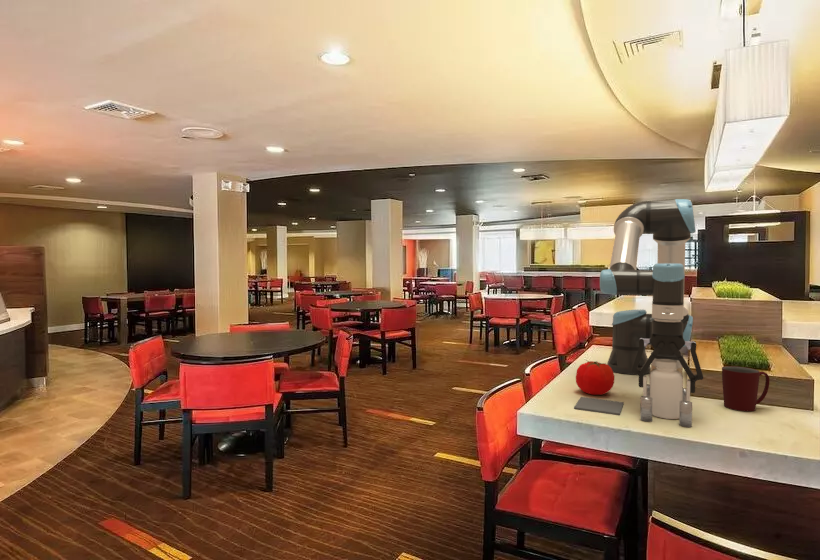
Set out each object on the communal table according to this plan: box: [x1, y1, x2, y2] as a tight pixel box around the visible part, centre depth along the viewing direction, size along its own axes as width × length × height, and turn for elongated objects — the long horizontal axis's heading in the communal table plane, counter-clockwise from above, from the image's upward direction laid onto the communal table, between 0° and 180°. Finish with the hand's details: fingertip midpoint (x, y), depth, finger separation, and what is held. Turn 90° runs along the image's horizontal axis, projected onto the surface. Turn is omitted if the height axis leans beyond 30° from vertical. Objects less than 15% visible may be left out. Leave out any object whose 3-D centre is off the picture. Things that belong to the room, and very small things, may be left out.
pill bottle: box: [649, 359, 684, 420], centre depth 130 cm, size 8×8×15 cm
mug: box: [721, 365, 770, 412], centre depth 137 cm, size 12×9×11 cm
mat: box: [573, 396, 625, 416], centre depth 139 cm, size 12×12×1 cm
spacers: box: [639, 383, 693, 428], centre depth 131 cm, size 17×12×6 cm
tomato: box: [575, 359, 615, 396], centre depth 152 cm, size 12×12×10 cm
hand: (665, 401), depth 131 cm, fingers open, 10 cm apart
